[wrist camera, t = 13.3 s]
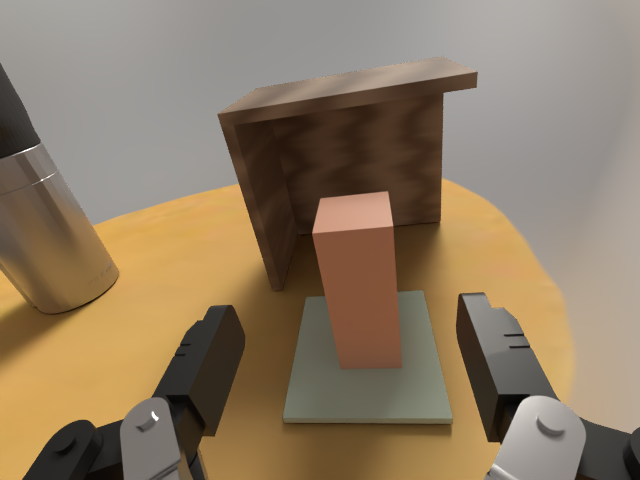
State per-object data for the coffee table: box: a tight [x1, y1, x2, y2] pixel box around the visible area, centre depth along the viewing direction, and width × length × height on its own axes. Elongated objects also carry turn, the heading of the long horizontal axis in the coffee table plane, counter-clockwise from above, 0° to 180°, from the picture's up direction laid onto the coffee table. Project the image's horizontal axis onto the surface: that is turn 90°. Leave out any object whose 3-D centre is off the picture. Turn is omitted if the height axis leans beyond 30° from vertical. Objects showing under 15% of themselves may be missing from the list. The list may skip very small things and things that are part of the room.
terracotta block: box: [312, 191, 402, 369], centre depth 24 cm, size 4×4×12 cm
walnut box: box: [218, 56, 478, 290], centre depth 34 cm, size 19×12×18 cm, turn 84°
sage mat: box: [282, 290, 453, 424], centre depth 27 cm, size 11×12×1 cm
